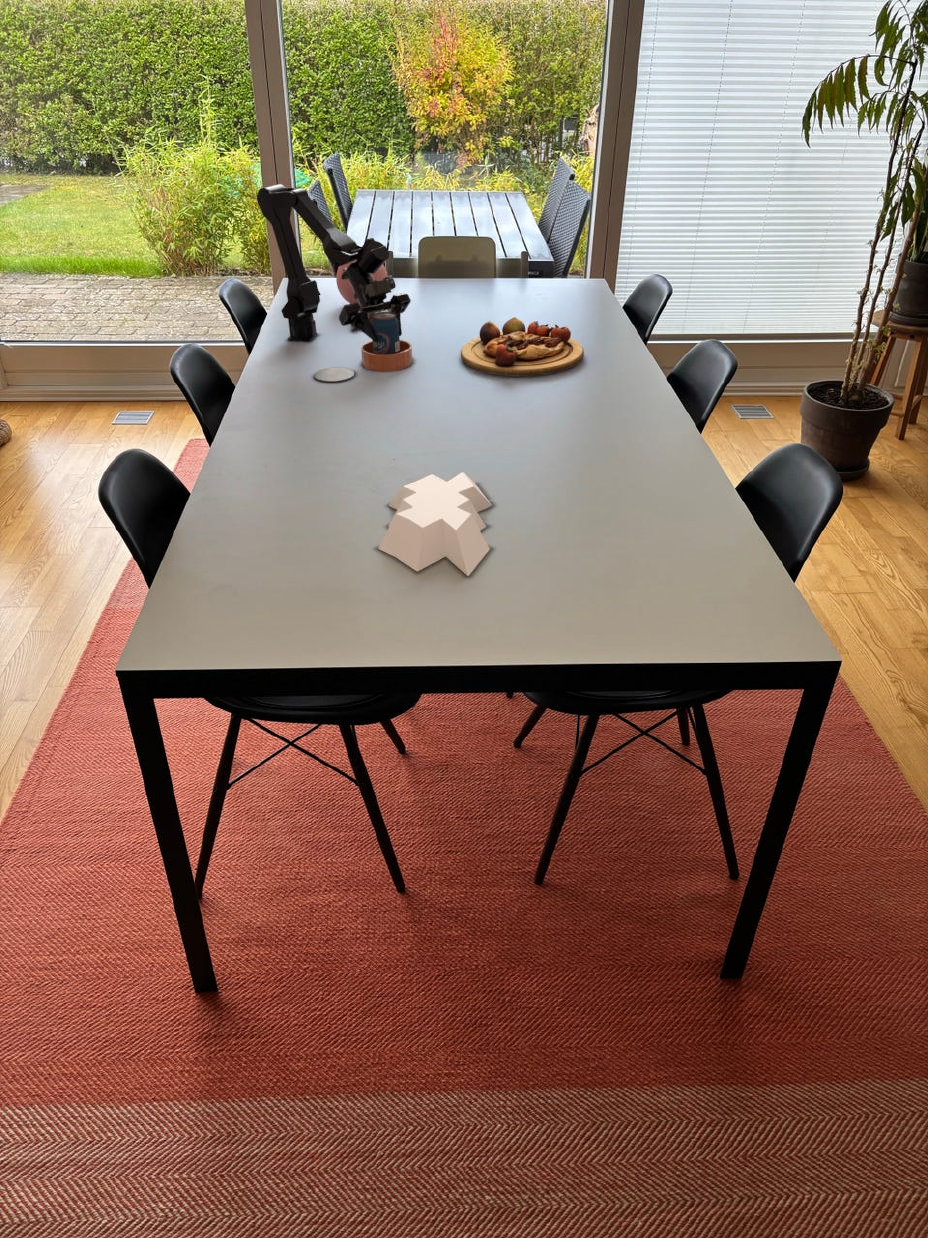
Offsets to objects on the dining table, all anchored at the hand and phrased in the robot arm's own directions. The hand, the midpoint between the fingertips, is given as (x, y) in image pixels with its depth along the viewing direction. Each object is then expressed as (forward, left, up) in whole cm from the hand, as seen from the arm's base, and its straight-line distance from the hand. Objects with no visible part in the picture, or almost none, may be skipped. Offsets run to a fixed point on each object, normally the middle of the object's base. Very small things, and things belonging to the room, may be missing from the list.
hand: (388, 337), depth 250 cm
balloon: (-24, +46, -7) cm, 52 cm away
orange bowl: (-1, +1, -7) cm, 7 cm away
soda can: (-1, +1, -7) cm, 7 cm away
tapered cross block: (+37, -82, -7) cm, 90 cm away
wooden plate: (+32, +12, -7) cm, 35 cm away
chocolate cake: (-17, +30, -7) cm, 35 cm away
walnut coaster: (-11, -11, -7) cm, 17 cm away
